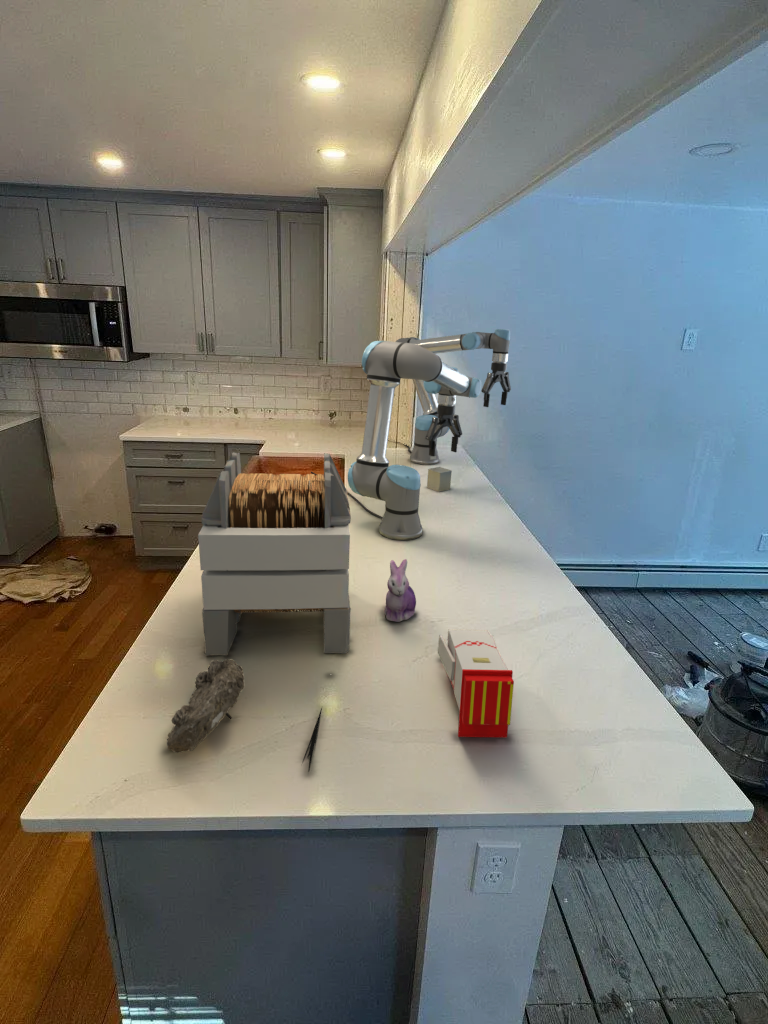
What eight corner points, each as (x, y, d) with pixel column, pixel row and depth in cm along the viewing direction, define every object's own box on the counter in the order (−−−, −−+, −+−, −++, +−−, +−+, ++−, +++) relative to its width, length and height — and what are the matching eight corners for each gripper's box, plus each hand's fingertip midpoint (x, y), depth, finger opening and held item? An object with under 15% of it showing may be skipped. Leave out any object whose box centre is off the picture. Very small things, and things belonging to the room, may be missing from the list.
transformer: (226, 586, 157) (217, 442, 143) (344, 585, 161) (346, 445, 147) (202, 658, 125) (189, 482, 112) (350, 654, 129) (354, 483, 115)
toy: (488, 613, 130) (523, 677, 101) (484, 667, 133) (517, 744, 104) (435, 612, 130) (455, 676, 101) (432, 666, 133) (451, 743, 103)
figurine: (392, 627, 141) (395, 572, 136) (374, 608, 149) (376, 556, 144) (425, 619, 145) (429, 566, 140) (405, 601, 154) (408, 550, 149)
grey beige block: (450, 489, 252) (451, 470, 250) (438, 491, 248) (440, 472, 245) (438, 485, 258) (439, 466, 255) (426, 487, 253) (428, 468, 250)
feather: (331, 679, 122) (336, 673, 122) (307, 777, 96) (313, 769, 95) (324, 675, 122) (329, 669, 121) (298, 772, 95) (304, 764, 95)
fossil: (192, 660, 117) (244, 628, 112) (224, 691, 120) (276, 661, 115) (142, 746, 98) (202, 712, 93) (182, 779, 101) (242, 748, 96)
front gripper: (431, 408, 229) (428, 459, 236) (473, 403, 244) (468, 451, 251) (418, 405, 234) (416, 455, 241) (460, 401, 249) (456, 448, 256)
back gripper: (509, 361, 288) (504, 402, 295) (476, 362, 272) (472, 406, 280) (521, 362, 283) (516, 405, 290) (488, 363, 267) (484, 408, 274)
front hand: (442, 453), depth 246 cm, fingers open, 13 cm apart
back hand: (494, 405), depth 285 cm, fingers open, 13 cm apart
